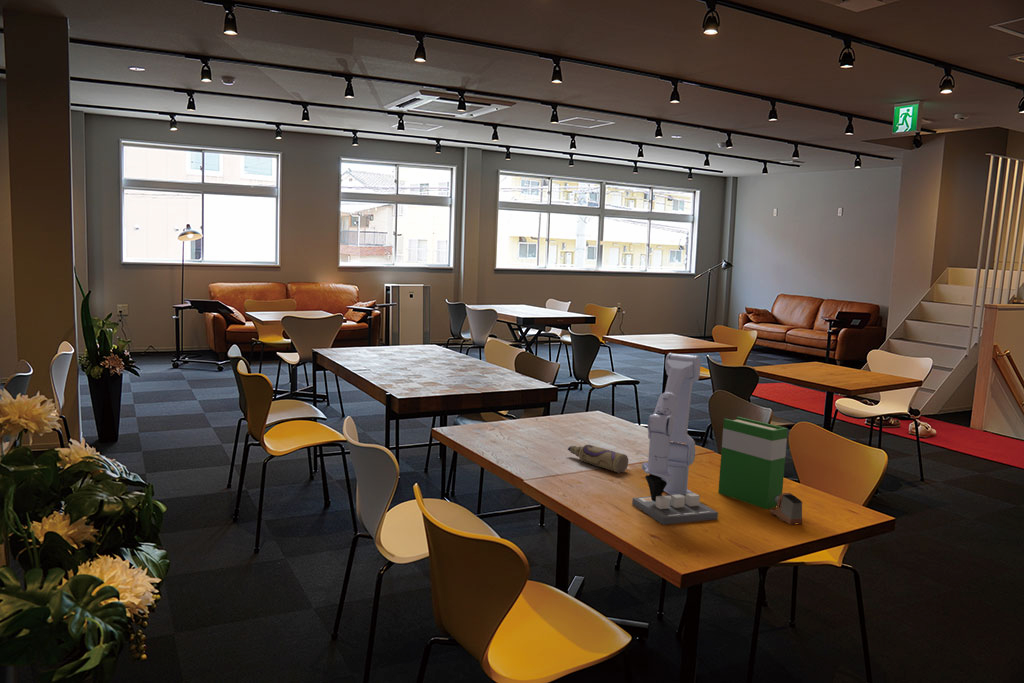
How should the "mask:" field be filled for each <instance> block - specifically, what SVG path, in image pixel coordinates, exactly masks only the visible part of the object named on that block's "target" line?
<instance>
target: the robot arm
mask: <svg viewBox="0 0 1024 683" xmlns="http://www.w3.org/2000/svg"><path fill="white" fill-rule="evenodd" d="M701 362H702V361H701V358H700V357H699V355H698V354H697V355H693V354H692V355H691V354H681V353H673V352H669V353H668V354H667V355H666V357H665V361H664V367H665V368H664V369H665V372H666V375H667V380H666V384H665V390H664V392H663V393H661V394H660V395H659V396H658V400H657V402H656V405H655V408H654V411H653V413H652V414H650V415H649V417H648V420H647V431H648V432H647V433H648V434H647V435H648V436H647V438H648V439H649V442H648V443H649V444H648V460H647V462H643V463H642V464H641V470H642V471H643V472H644V473H645V474H648V475H645V477H644V478H645V480H646V482H647V484H648V489H649V493H650V496H651V499H652V501H656V496H662V495H663V493H664V492H665V493H666V494H667V495H673V494H689V493H694V492H693V491H691V490H690V489H688V483H689V470H690V468H689V467H690V466H691V465H692V464H694V461H695V458H696V441H695V440H694V439H693V438H692V436H690V435H689V434H688V430H689V428H688V427H689V419H690V409H691V399H692V389H693V384H694V383H695V382H699V379H700V376H701V366H702V363H701ZM674 442H678V443H674ZM680 443H681V444H680Z"/></svg>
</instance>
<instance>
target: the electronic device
mask: <svg viewBox="0 0 1024 683" xmlns="http://www.w3.org/2000/svg"><path fill="white" fill-rule="evenodd" d="M774 500H775V502H776V503H777V507H775V509H774V508H770V509H768V510H769V512H770V514H771V515H772V514H773V515H772V516H775V515H776V516H775V517H778V518H777V519H778V520H780V519H781V520H780V521H782V520H783V521H782V522H784V521H785V522H784V523H786V522H787V523H788V525H789V524H793V525H794V524H795V523H802V524H803V502H802V501H803V500H801V499H799V497H797V496H795V495H794V494H792V493H791V492H782V493H781V494H780V496H779V495H777V496H775V497H774ZM787 523H786V524H787ZM795 525H796V524H795Z"/></svg>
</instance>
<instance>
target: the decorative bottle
mask: <svg viewBox="0 0 1024 683" xmlns="http://www.w3.org/2000/svg"><path fill="white" fill-rule="evenodd" d="M567 450H568V451H569V452H570V454H573V455H575V456H576V457H578V458H579V460H580V461H581V462H582V461H584V462H583V463H585V462H587V463H586V464H588V463H590V464H589V465H591V464H593V465H592V466H594V465H596V466H595V467H598V466H599V467H598V468H601V467H602V469H604V468H605V469H604V470H608V471H610V470H611V471H610V472H613V471H614V472H613V473H616V472H617V473H616V474H621V473H620V472H622V473H624V472H625V471H626V470H627V468H628V467H629V458H628V455H627V454H625V453H620V452H616V451H614V450H612V449H611V450H610V449H608V448H607V449H606V448H604V447H599V446H595V445H592V444H584V445H583V446H582V445H581V446H577V445H570V446H569V447H567Z"/></svg>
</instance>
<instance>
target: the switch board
mask: <svg viewBox="0 0 1024 683" xmlns="http://www.w3.org/2000/svg"><path fill="white" fill-rule="evenodd" d="M673 495H677V494H673ZM680 495H682V496H684V497H685V500H686V494H680ZM662 496H667V497H669V498H670V504H669V509H659V508H657V507H656V501H652V499H651V495H650V496H641V497H640V496H639V497H632V504H633V505H632V506H634V505H635V506H636V509H638V508H639V509H638V510H640V509H641V510H642V511H641V510H640V511H641V512H643V513H644V512H645V513H644V514H646V515H647V514H648V515H647V516H648V517H650V518H652V519H654V520H655V521H656V522H658V523H659V524H661V525H663V526H664V525H673V524H684V523H694V522H704V521H712V520H713V521H715V520H718V519H719V511H716V510H715V509H714V508H711V507H709V506H708V505H706V504H704V503H702V502H701V501H699V506H688V505H687V504H685V503H684V507H680V508H675V507H673V506H671V495H670V494H665V495H664V494H662ZM635 506H634V507H635Z"/></svg>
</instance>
